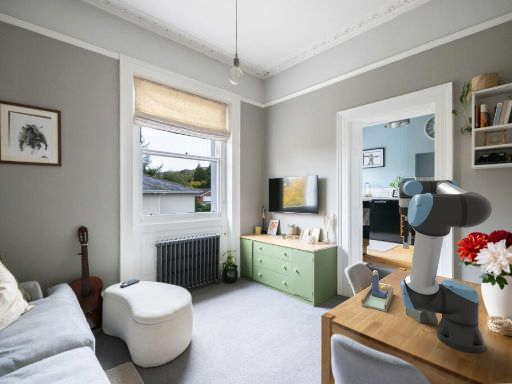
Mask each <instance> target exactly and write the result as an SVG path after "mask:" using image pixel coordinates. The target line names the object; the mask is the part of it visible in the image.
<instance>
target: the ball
mask: <svg viewBox="0 0 512 384" xmlns="http://www.w3.org/2000/svg"><path fill="white" fill-rule="evenodd" d="M380 289H381V290H384V291H388V288H387V287H386V286H385V285H383V286H381V288H380Z"/></svg>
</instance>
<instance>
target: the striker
mask: <svg viewBox="0 0 512 384" xmlns="http://www.w3.org/2000/svg"><path fill="white" fill-rule="evenodd" d="M371 276H372V277H371V281H372V282H371V283H372V295H373V296H377V297H382V298H386V296H387V291H384V290H379V283H380V274H379V271H378V270H373V271H372V275H371Z"/></svg>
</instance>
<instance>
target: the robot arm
mask: <svg viewBox="0 0 512 384" xmlns="http://www.w3.org/2000/svg"><path fill="white" fill-rule="evenodd" d="M398 190H399V191H398V193H399V194H398V206H399V207H398V213H399V214H400V215H403V216H402V233H401V236H402V249H405V250H409V249H410V245H412V233H413V230H414V232H415V236H414V243H413V249H412V250H413V253H412V259H411V260H412V261H411V267H410V273H409V274H407V275H406V277H405V279H401V280H400V289H401V297H402V302H403V306H404V307H405V309H406V308H408V309H412V310H418V311H425V312H432V313H436V314H441V317H440V320H439V322H438V324H437V325H438V326H437V328H436V337H437V339H438V340H439V341H441V342H442V343H443V344H445V345H446V346H449V347H450V348H453V349H455V350H458V351H461V352H465V353H472V354H473V353H474V354H480V353H483V352H485V350H486V349H485V347H486V346H485V345H486V344H485V340H484V338H483V335H482V333H481V332H482V331H481V330H480V326H479V324H480V323H479V321H480V320H479V314H480V313H479V312H480V311H479V310H480V309H479V307H480V304H479V303H480V299H479V293H478V291H477V290H476V289H475V288H474V287H472V286H470V285H468V284H465V283H463V282H460V281H456V280H450V279H443V280H442V281H440V283H439V282H437V280H436V279H437V274H438V269H439V264H440V258H441V252H442V247H443V243H444V238H445V237H447V236H448V235H450V234H451V228H456V229H457V228H459V229H460V228H461V229H462V228H464V229H465V228H466V229H468V228H473V227H478V226H479V225H482V224H483V223H485V222H486V221H488V219H489V218H490V216H491V215H492V211H493V206H492V203H491V202H490V200H489V199H488V198H487V197H486V196H484V195H482V194H480V193H478V192H473V191H470V192H469V191H467V190H465V189H463V188H461V187H459V183H458V182H457V180H454V179H453V180H452V179H451V180H449V179H442V180H430V179H429V180H416V178H415V177H401V178H399V180H398ZM412 229H413V230H412Z"/></svg>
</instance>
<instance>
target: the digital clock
mask: <svg viewBox="0 0 512 384" xmlns="http://www.w3.org/2000/svg"><path fill="white" fill-rule="evenodd" d="M405 314H406V315H407V316H409V317H410V318H412V319H414V320H415V321H416V322H419V323H420V324H423V323H430V324H432V325H436V326H437V325H439V320H438V317H437V313H432V312H425V311H418V310H412V309H408V308H406V307H405Z"/></svg>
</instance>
